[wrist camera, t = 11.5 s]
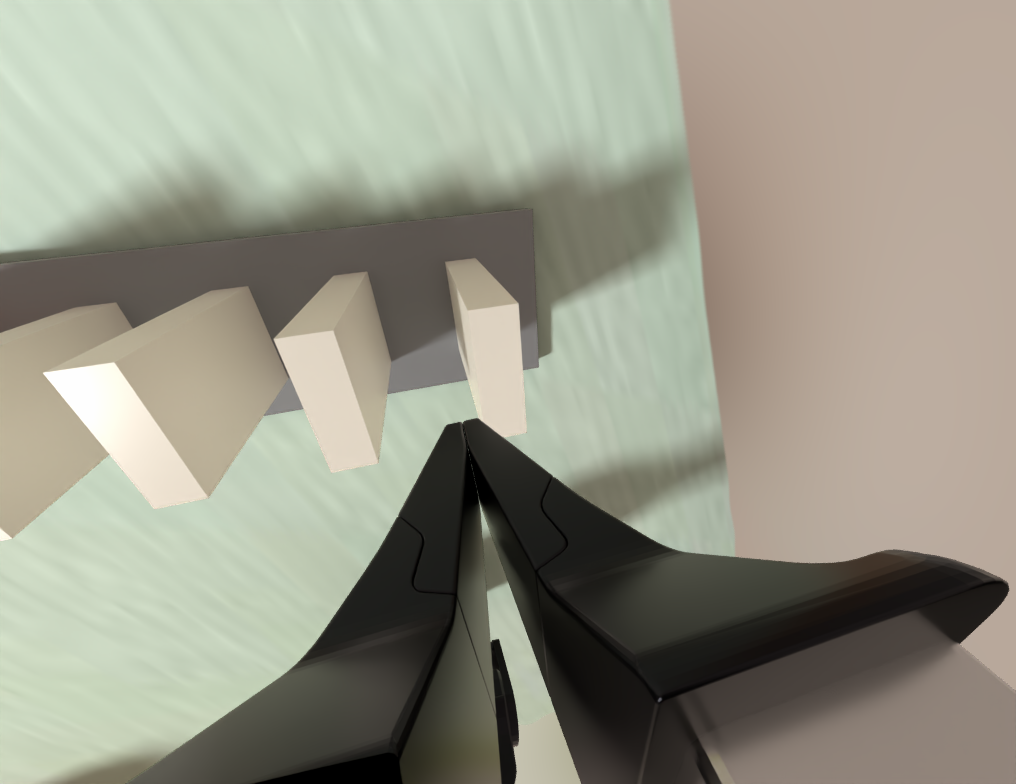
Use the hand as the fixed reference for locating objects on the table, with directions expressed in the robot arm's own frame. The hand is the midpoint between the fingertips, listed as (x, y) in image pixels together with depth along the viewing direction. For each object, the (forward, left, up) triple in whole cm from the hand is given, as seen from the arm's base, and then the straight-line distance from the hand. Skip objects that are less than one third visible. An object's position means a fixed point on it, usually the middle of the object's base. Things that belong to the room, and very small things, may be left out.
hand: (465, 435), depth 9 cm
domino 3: (0, +4, -12) cm, 13 cm away
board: (0, +9, -13) cm, 16 cm away
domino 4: (0, -2, -12) cm, 12 cm away
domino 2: (0, +9, -12) cm, 15 cm away
